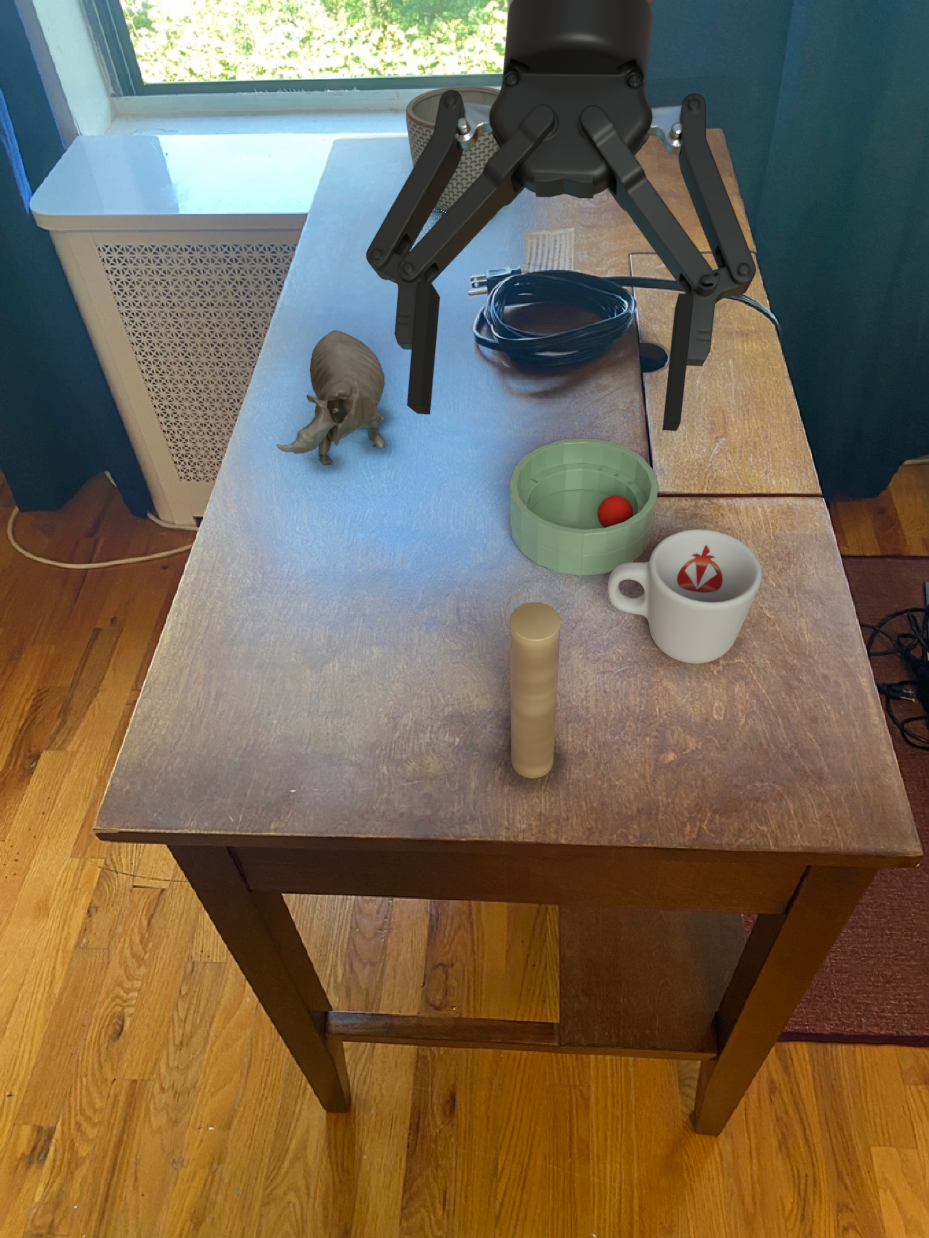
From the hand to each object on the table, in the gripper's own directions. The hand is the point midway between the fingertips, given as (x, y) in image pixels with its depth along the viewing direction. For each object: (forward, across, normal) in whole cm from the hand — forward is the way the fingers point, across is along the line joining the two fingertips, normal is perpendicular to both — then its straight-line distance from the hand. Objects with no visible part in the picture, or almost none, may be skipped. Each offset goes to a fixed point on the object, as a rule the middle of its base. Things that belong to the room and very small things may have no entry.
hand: (542, 419), depth 49 cm
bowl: (+5, -2, -32) cm, 32 cm away
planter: (-38, +19, -75) cm, 86 cm away
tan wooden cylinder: (+22, 0, -15) cm, 26 cm away
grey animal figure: (-2, +22, -39) cm, 45 cm away
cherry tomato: (+3, -4, -30) cm, 31 cm away
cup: (+12, -10, -24) cm, 29 cm away
